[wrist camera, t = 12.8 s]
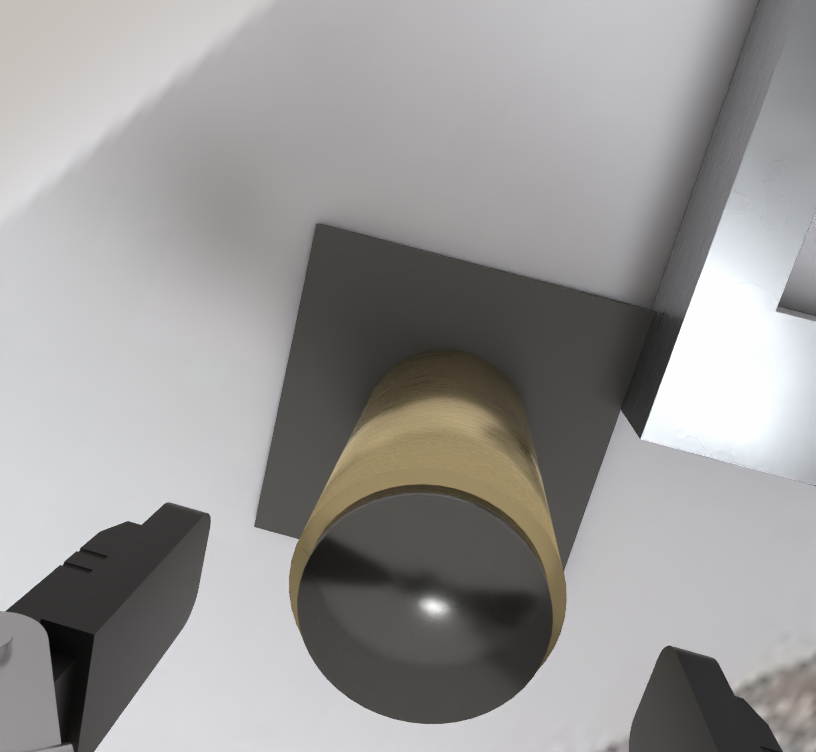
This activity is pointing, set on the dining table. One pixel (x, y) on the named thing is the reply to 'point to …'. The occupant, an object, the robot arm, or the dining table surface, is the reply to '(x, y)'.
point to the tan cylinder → (432, 548)
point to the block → (742, 272)
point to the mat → (446, 330)
